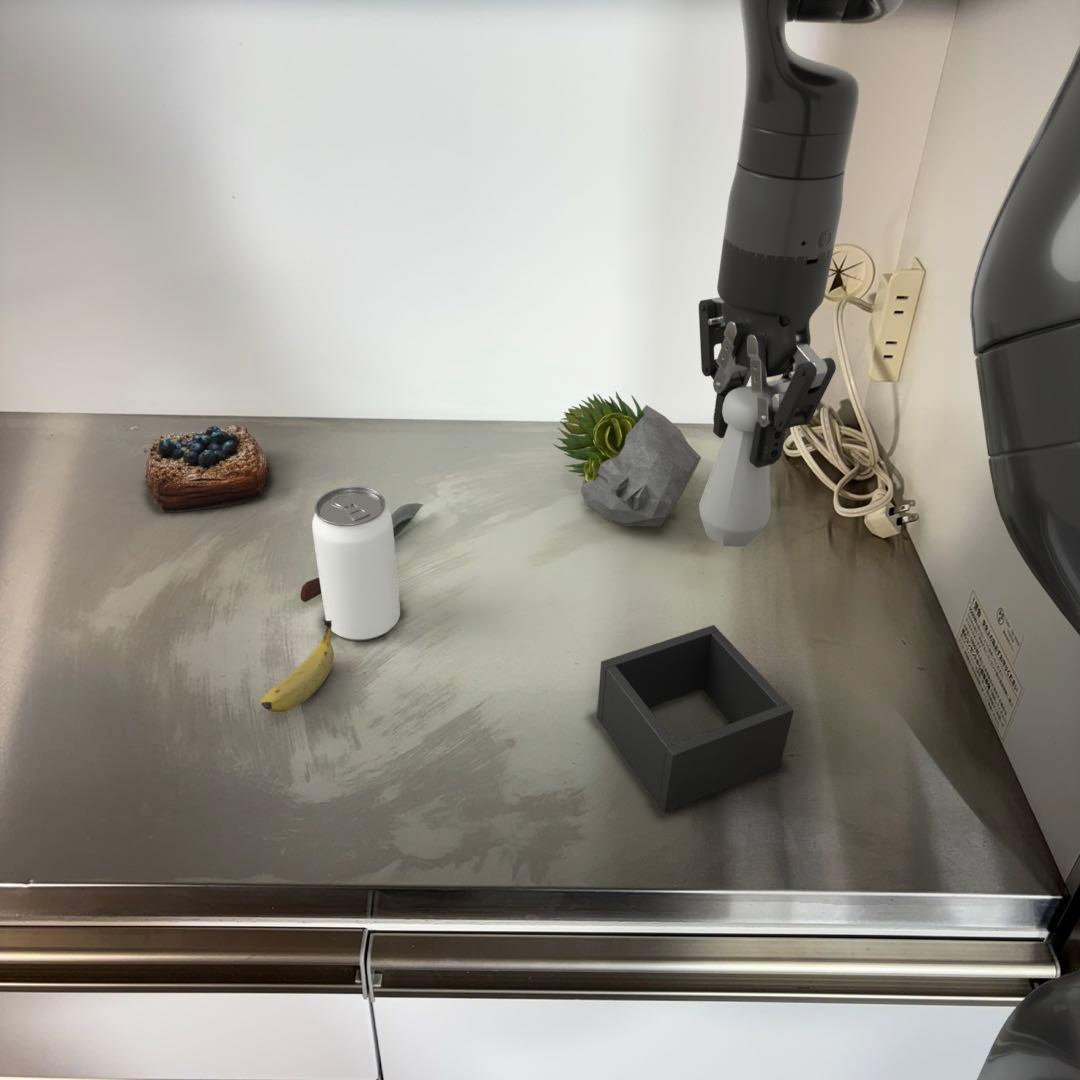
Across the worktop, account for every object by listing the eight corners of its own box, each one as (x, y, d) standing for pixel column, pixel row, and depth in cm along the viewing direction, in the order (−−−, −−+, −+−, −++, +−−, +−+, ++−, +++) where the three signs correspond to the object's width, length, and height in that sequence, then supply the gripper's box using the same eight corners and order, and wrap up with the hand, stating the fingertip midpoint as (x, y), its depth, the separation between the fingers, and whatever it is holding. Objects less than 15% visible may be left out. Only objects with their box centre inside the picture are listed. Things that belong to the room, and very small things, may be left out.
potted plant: (645, 542, 89) (512, 461, 92) (659, 552, 101) (541, 480, 105) (715, 430, 88) (578, 352, 92) (720, 453, 101) (599, 384, 104)
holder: (780, 766, 72) (794, 709, 69) (664, 813, 68) (672, 755, 65) (705, 680, 79) (714, 624, 76) (596, 717, 76) (600, 661, 72)
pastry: (149, 464, 105) (137, 416, 101) (262, 447, 108) (254, 400, 105) (151, 519, 96) (138, 469, 93) (274, 499, 100) (266, 450, 96)
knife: (417, 510, 99) (416, 485, 97) (430, 515, 98) (428, 490, 96) (298, 611, 85) (293, 585, 84) (311, 617, 85) (307, 590, 83)
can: (375, 586, 88) (363, 474, 81) (415, 622, 84) (406, 508, 77) (312, 614, 85) (294, 500, 78) (350, 654, 81) (335, 537, 74)
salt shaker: (771, 554, 79) (799, 413, 72) (701, 553, 79) (722, 412, 71) (757, 514, 84) (782, 377, 76) (691, 513, 84) (710, 376, 76)
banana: (286, 743, 73) (279, 705, 71) (258, 735, 74) (250, 698, 71) (347, 656, 81) (342, 620, 78) (321, 650, 81) (316, 614, 79)
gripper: (677, 210, 71) (656, 418, 80) (801, 275, 60) (759, 505, 70) (761, 199, 73) (731, 401, 83) (893, 259, 63) (841, 482, 73)
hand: (744, 447), depth 77 cm, fingers closed on salt shaker, 4 cm apart
